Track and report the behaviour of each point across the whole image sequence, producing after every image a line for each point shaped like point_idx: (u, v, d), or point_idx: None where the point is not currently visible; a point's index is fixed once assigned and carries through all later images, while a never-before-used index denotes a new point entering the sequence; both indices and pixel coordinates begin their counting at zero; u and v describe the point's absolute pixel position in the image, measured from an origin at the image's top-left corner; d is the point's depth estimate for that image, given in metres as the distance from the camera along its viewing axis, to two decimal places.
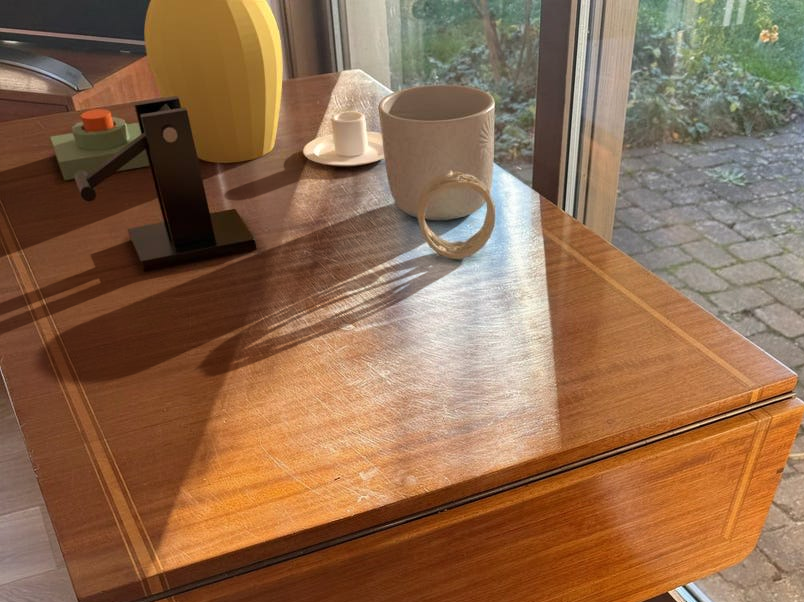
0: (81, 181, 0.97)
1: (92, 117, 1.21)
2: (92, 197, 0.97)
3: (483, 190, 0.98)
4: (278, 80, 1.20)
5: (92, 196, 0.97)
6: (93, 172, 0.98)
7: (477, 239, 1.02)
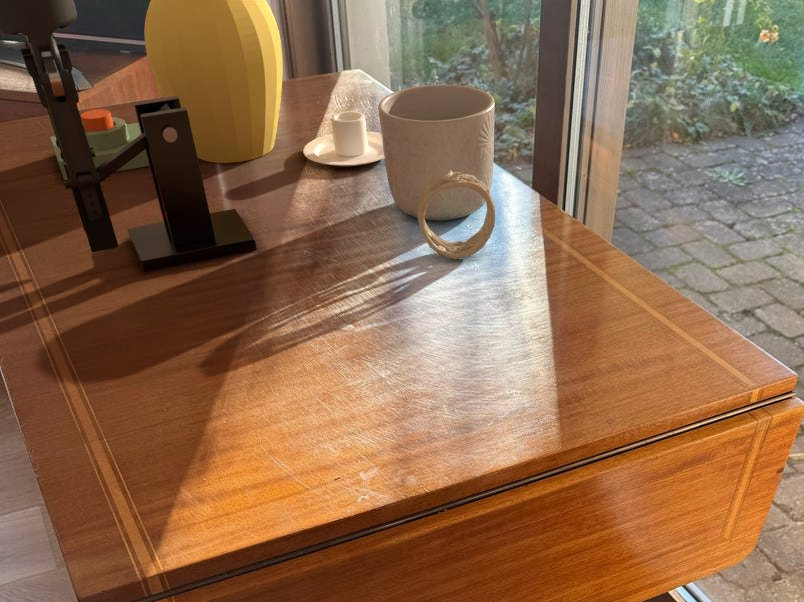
0: None
1: (92, 117, 1.21)
2: None
3: (483, 190, 0.98)
4: (278, 80, 1.20)
5: None
6: None
7: (477, 239, 1.02)
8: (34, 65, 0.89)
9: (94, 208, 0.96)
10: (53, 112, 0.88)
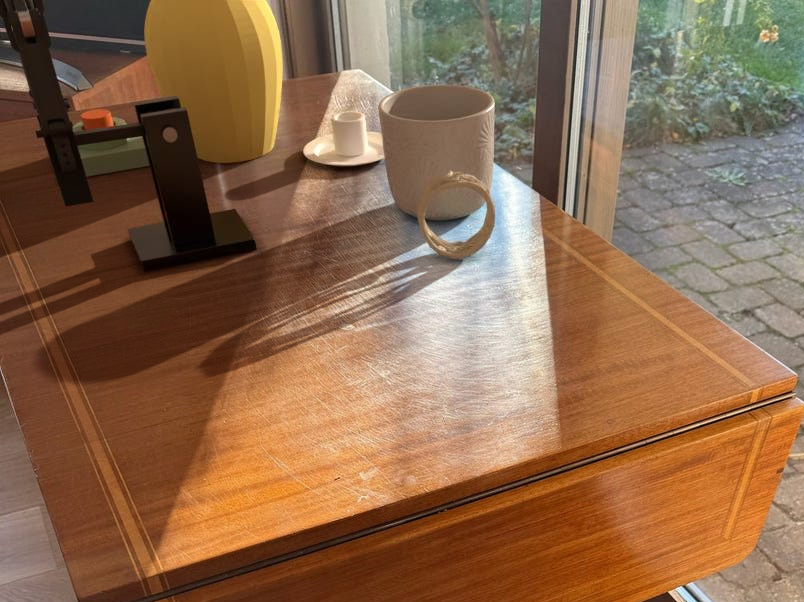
0: None
1: (92, 117, 1.21)
2: None
3: (483, 190, 0.98)
4: (278, 80, 1.20)
5: None
6: (75, 133, 0.95)
7: (477, 239, 1.02)
8: (4, 5, 0.85)
9: (67, 159, 0.93)
10: (23, 54, 0.85)
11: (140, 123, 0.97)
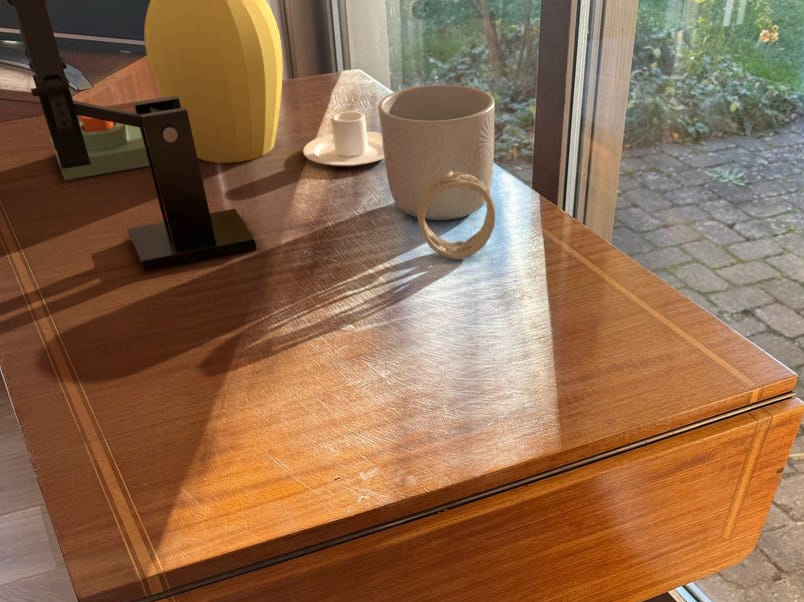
0: None
1: None
2: None
3: (483, 190, 0.98)
4: (278, 80, 1.20)
5: None
6: (73, 101, 0.93)
7: (477, 239, 1.02)
8: None
9: (64, 118, 0.90)
10: (18, 6, 0.82)
11: None
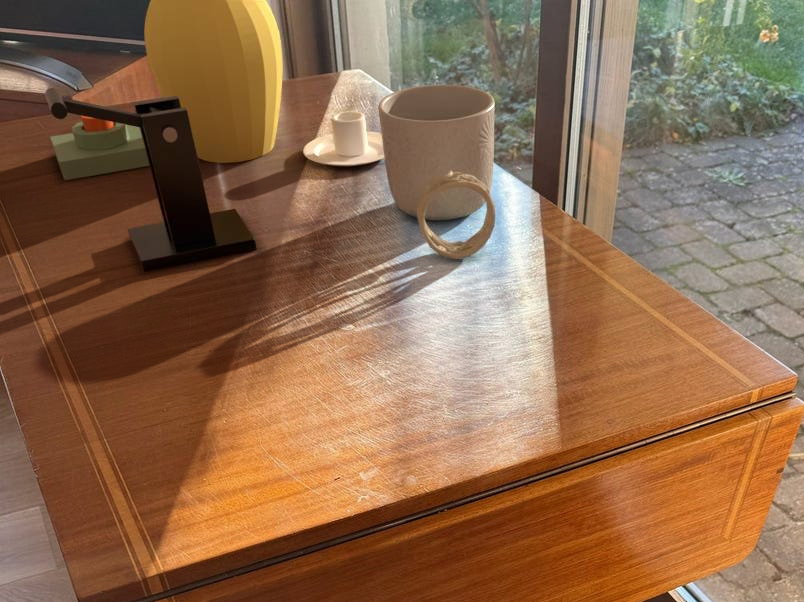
0: (58, 97, 0.92)
1: None
2: (60, 116, 0.92)
3: (483, 190, 0.98)
4: (278, 80, 1.20)
5: (61, 115, 0.92)
6: (73, 101, 0.93)
7: (477, 239, 1.02)
8: None
9: None
10: None
11: None
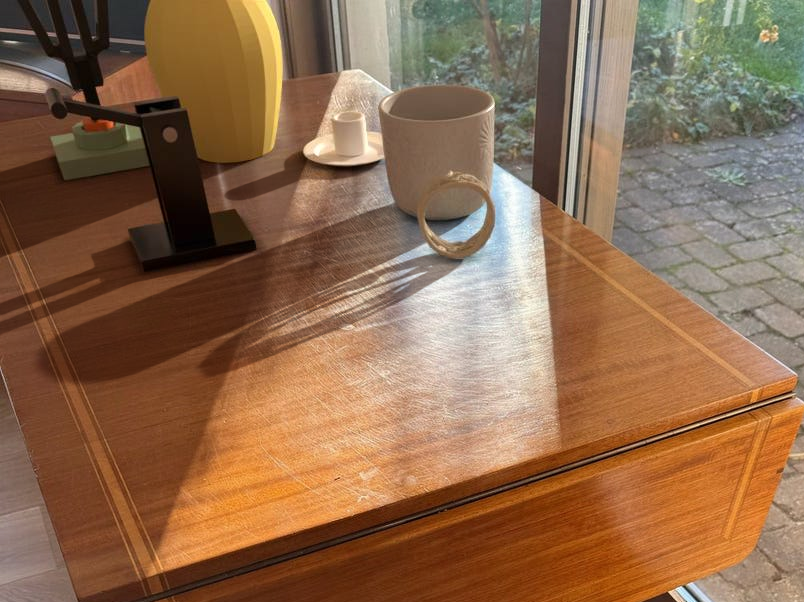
0: (58, 97, 0.92)
1: (93, 122, 1.21)
2: (60, 116, 0.92)
3: (483, 190, 0.98)
4: (278, 80, 1.20)
5: (61, 115, 0.92)
6: (73, 101, 0.93)
7: (477, 239, 1.02)
8: None
9: (69, 78, 1.18)
10: None
11: None
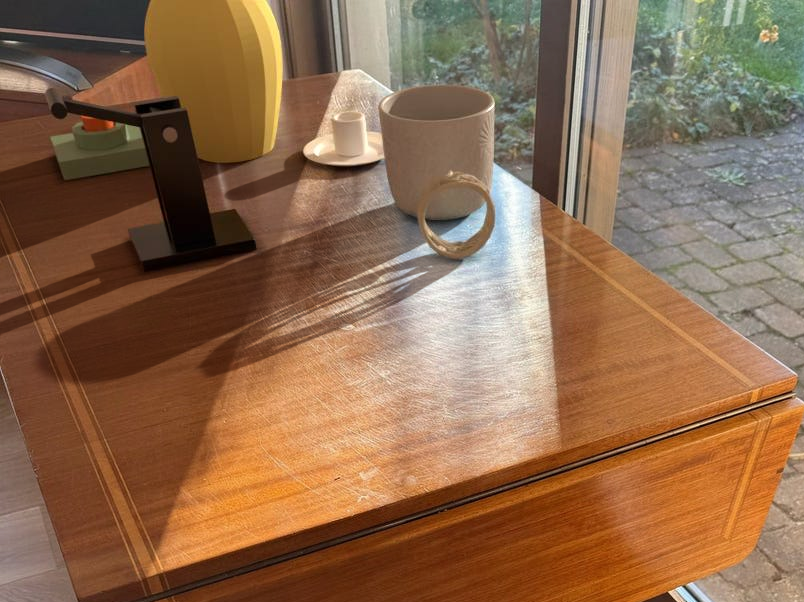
0: (58, 97, 0.92)
1: None
2: (60, 116, 0.92)
3: (483, 190, 0.98)
4: (278, 80, 1.20)
5: (61, 115, 0.92)
6: (73, 101, 0.93)
7: (477, 239, 1.02)
8: None
9: None
10: None
11: None
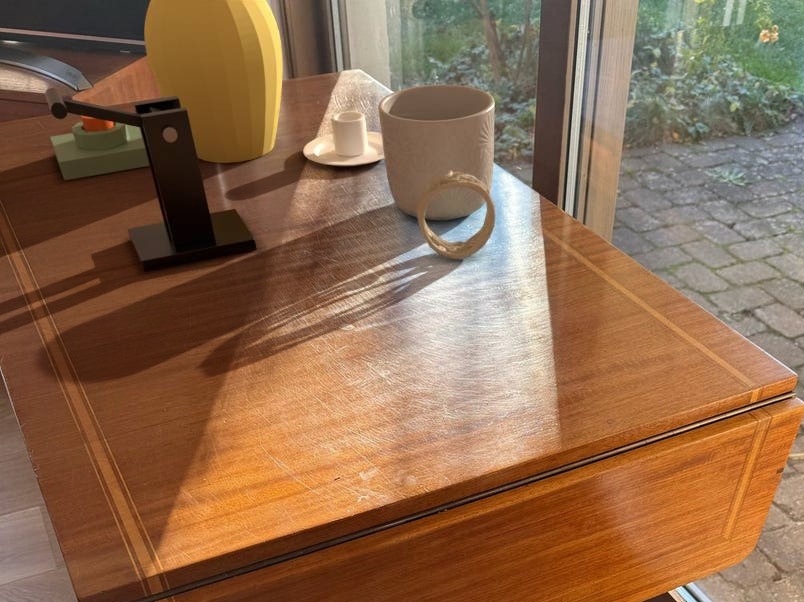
0: (58, 97, 0.92)
1: None
2: (60, 116, 0.92)
3: (483, 190, 0.98)
4: (278, 80, 1.20)
5: (61, 115, 0.92)
6: (73, 101, 0.93)
7: (477, 239, 1.02)
8: None
9: None
10: None
11: None
